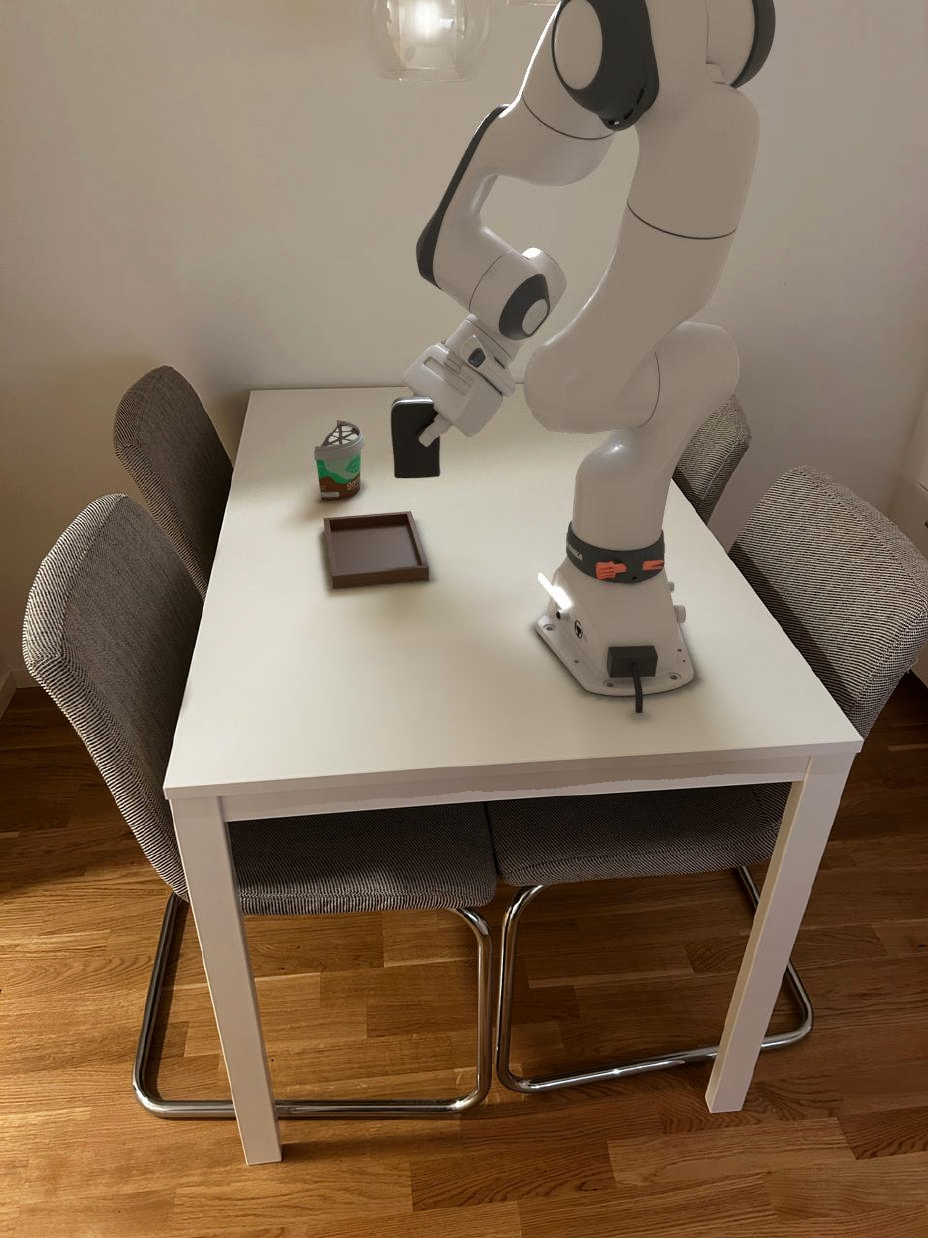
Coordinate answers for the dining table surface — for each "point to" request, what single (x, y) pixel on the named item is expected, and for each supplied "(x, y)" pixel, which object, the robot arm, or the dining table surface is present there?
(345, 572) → the tray
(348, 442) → the food container
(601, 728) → the dining table surface
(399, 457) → the battery charger
